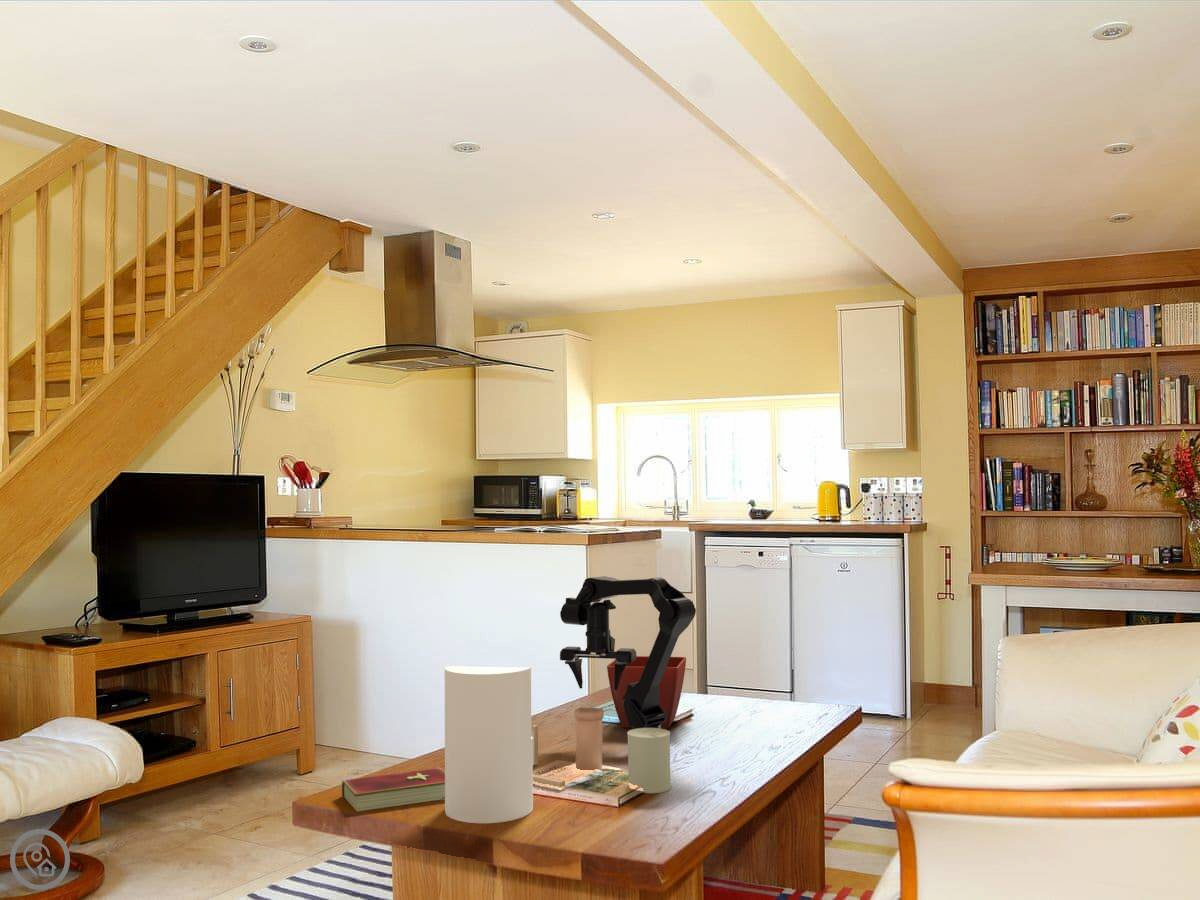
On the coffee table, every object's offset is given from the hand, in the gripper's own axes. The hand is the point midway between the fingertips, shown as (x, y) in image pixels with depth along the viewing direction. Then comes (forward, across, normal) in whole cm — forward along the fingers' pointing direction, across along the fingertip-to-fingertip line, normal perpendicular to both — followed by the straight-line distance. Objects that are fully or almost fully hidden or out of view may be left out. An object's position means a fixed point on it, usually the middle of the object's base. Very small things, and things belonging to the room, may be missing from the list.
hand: (598, 689), depth 263 cm
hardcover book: (+14, +26, +57) cm, 64 cm away
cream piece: (+13, 0, +32) cm, 34 cm away
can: (+13, -22, +37) cm, 45 cm away
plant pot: (+13, -7, -22) cm, 27 cm away
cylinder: (+13, +5, +60) cm, 62 cm away
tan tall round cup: (+13, -6, +27) cm, 31 cm away
